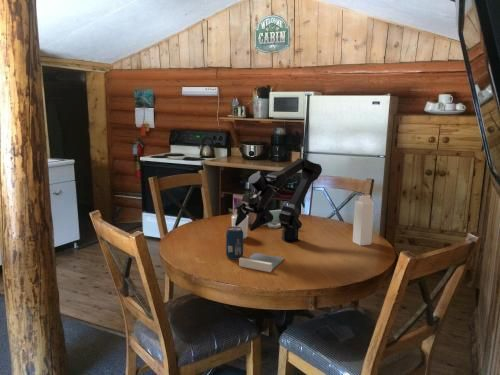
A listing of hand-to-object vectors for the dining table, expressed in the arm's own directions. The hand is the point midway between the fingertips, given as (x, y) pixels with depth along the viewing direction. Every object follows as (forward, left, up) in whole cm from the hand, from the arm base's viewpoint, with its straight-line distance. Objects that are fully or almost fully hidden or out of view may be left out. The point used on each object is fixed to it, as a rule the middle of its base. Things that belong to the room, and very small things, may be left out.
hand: (242, 228), depth 170 cm
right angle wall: (-28, -33, -12) cm, 45 cm away
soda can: (+4, +2, -11) cm, 12 cm away
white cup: (-6, -22, -11) cm, 26 cm away
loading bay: (-5, +11, -11) cm, 16 cm away
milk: (-56, +3, -11) cm, 57 cm away
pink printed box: (-15, -43, -11) cm, 47 cm away
